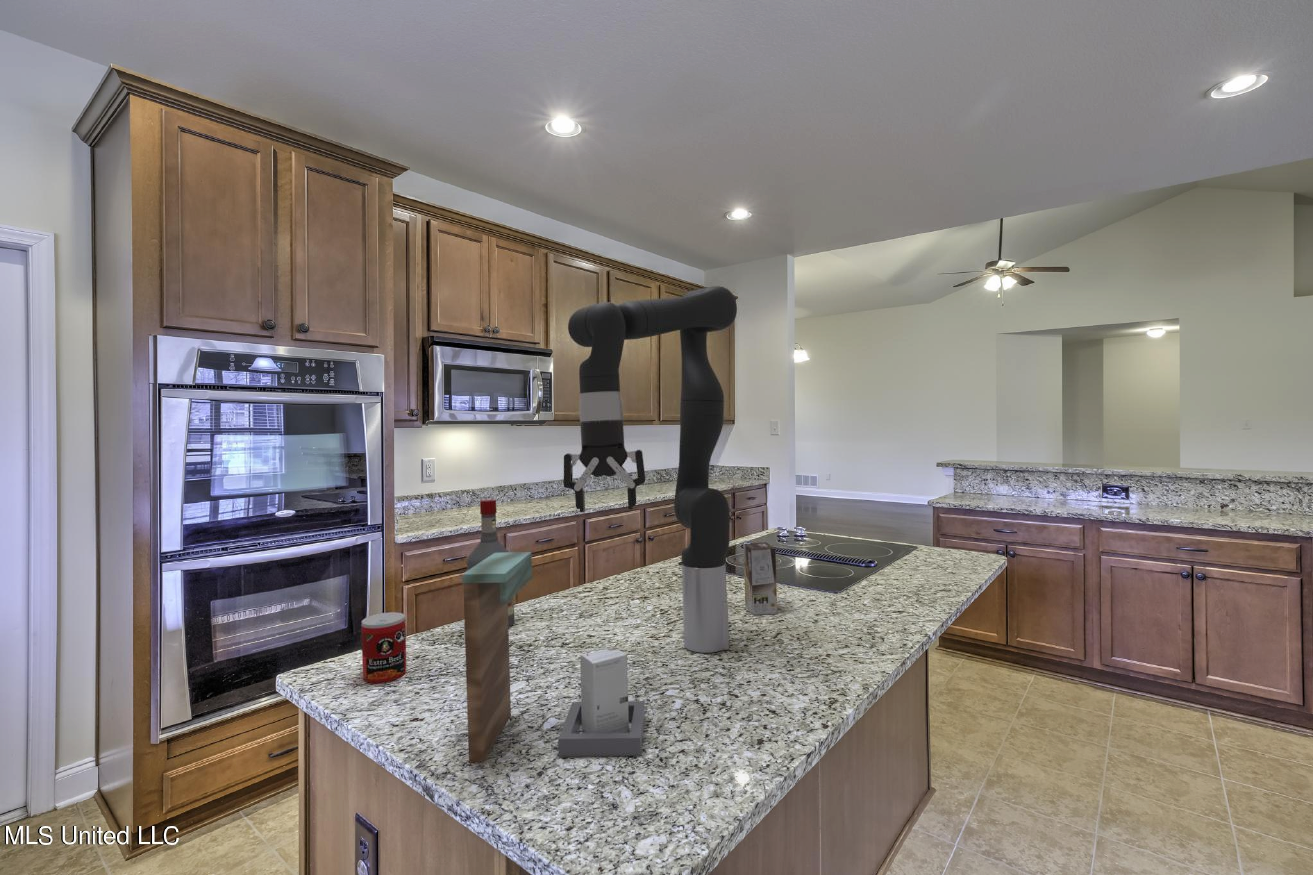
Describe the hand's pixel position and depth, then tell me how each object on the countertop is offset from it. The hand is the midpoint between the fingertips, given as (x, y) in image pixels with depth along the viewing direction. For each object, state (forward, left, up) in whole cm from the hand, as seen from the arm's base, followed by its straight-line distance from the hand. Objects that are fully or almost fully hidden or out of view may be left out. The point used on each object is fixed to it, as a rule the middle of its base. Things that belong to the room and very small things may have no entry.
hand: (606, 510), depth 106 cm
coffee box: (-33, -45, -32) cm, 64 cm away
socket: (-1, +17, -31) cm, 36 cm away
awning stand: (+14, +17, -32) cm, 38 cm away
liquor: (+32, -35, -32) cm, 57 cm away
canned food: (+44, -7, -32) cm, 55 cm away
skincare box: (-1, +17, -32) cm, 36 cm away
